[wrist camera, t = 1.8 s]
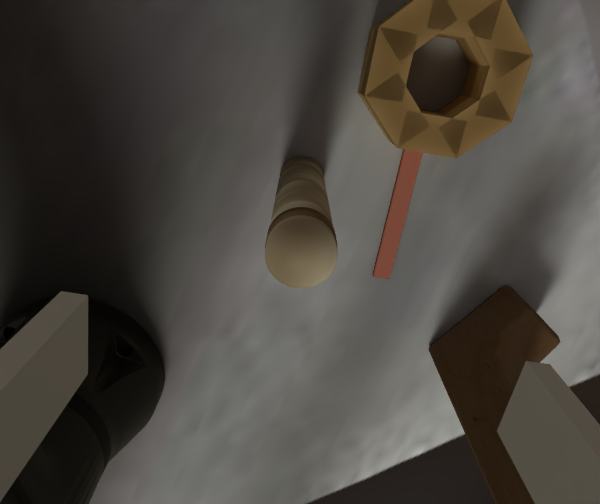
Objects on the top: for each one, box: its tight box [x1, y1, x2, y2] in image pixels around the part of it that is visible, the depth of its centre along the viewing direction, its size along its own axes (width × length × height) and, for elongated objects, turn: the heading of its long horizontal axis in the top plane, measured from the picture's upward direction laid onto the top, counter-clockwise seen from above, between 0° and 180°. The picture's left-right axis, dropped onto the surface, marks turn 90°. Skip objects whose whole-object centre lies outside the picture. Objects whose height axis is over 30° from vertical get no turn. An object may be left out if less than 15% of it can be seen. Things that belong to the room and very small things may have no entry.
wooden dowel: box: [265, 156, 338, 288], centre depth 30 cm, size 4×4×16 cm
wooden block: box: [429, 285, 560, 504], centre depth 34 cm, size 9×4×18 cm, turn 137°
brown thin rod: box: [373, 149, 423, 279], centre depth 38 cm, size 11×1×1 cm, turn 171°
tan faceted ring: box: [358, 0, 533, 158], centre depth 32 cm, size 10×10×4 cm
